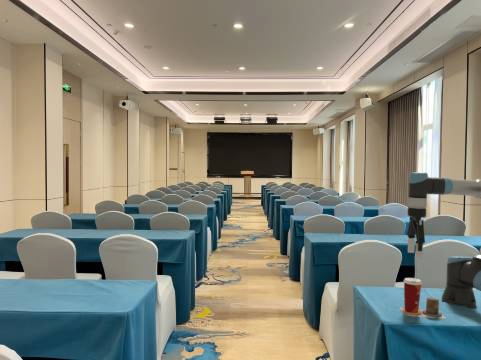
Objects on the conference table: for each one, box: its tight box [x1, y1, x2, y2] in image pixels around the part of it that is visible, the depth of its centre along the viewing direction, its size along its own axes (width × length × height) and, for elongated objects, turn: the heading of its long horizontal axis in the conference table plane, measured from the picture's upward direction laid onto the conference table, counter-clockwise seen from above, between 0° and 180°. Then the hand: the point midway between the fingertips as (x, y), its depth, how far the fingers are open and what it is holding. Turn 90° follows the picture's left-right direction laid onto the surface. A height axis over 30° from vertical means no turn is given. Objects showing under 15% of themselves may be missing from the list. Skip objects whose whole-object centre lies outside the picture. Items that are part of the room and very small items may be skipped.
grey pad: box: [422, 309, 443, 317], centre depth 196 cm, size 8×8×1 cm
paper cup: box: [403, 277, 423, 313], centre depth 197 cm, size 8×8×14 cm
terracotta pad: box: [401, 307, 422, 315], centre depth 197 cm, size 8×8×1 cm
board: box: [399, 307, 447, 320], centre depth 197 cm, size 17×11×1 cm, turn 83°
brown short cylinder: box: [425, 297, 440, 315], centre depth 196 cm, size 5×5×6 cm
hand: (414, 255), depth 196 cm, fingers open, 13 cm apart
